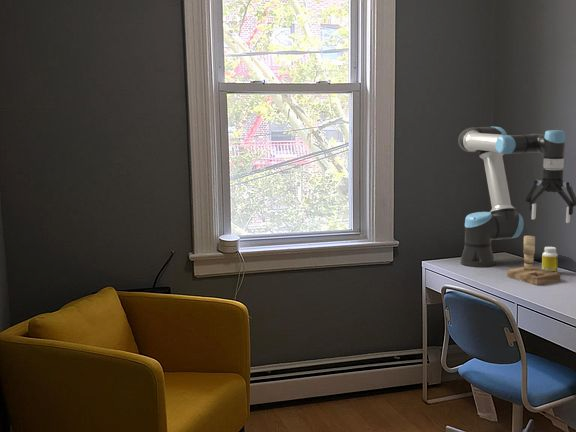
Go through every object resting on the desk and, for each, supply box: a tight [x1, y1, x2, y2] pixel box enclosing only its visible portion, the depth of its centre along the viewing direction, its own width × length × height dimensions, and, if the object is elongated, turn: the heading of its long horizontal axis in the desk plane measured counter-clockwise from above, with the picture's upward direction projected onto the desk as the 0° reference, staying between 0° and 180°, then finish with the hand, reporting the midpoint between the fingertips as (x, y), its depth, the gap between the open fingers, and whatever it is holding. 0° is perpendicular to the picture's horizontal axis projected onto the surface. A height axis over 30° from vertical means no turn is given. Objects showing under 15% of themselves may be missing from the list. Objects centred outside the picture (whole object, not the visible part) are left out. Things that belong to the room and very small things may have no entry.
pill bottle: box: [541, 246, 559, 273], centre depth 264 cm, size 6×6×11 cm
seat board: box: [506, 266, 561, 286], centre depth 256 cm, size 16×13×3 cm
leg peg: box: [522, 235, 536, 270], centre depth 259 cm, size 4×4×14 cm
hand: (550, 220), depth 252 cm, fingers open, 13 cm apart
